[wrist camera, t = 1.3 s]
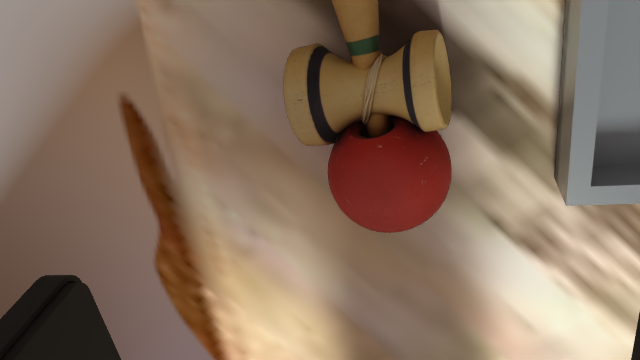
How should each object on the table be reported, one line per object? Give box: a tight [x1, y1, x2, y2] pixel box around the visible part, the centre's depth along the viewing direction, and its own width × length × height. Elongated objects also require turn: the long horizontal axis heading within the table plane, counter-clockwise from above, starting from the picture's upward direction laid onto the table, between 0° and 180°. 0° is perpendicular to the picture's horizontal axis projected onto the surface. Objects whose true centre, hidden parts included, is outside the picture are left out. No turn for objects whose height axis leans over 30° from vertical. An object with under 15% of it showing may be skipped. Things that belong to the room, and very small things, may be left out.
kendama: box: [283, 0, 452, 233], centre depth 25 cm, size 8×6×18 cm
